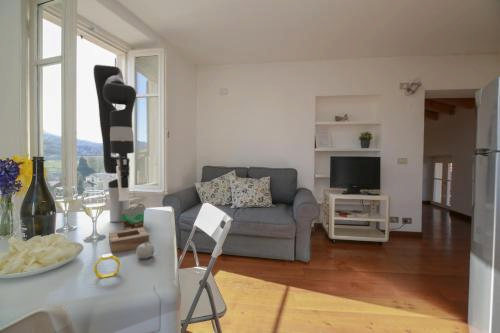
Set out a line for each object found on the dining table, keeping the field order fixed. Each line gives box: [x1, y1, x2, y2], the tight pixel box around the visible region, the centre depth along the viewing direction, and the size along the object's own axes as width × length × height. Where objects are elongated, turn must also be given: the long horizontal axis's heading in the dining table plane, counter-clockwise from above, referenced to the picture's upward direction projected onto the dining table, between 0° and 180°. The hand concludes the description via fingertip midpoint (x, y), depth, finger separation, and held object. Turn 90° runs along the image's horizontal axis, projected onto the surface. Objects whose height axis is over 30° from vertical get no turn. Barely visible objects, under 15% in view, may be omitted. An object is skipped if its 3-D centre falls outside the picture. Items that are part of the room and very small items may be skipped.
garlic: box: [135, 241, 155, 260], centre depth 78 cm, size 6×5×5 cm
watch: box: [93, 253, 121, 279], centre depth 66 cm, size 6×3×6 cm, turn 112°
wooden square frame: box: [108, 226, 150, 254], centre depth 90 cm, size 12×12×4 cm
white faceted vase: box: [116, 165, 131, 201], centre depth 88 cm, size 5×4×15 cm
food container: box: [121, 203, 146, 230], centre depth 110 cm, size 12×6×10 cm, turn 168°
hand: (124, 186), depth 89 cm, fingers closed on white faceted vase, 4 cm apart
